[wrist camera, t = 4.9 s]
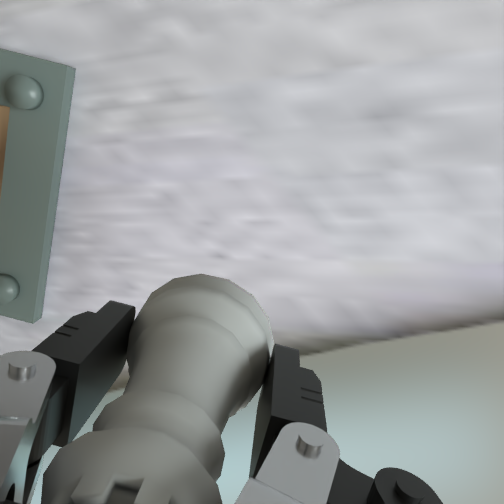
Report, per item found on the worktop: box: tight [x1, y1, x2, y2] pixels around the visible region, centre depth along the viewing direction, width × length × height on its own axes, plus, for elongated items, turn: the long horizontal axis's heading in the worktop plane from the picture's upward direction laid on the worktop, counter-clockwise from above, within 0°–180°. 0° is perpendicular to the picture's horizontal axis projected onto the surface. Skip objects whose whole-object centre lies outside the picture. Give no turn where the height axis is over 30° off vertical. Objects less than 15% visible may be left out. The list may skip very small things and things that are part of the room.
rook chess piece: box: [41, 274, 274, 504], centre depth 10 cm, size 4×4×8 cm
